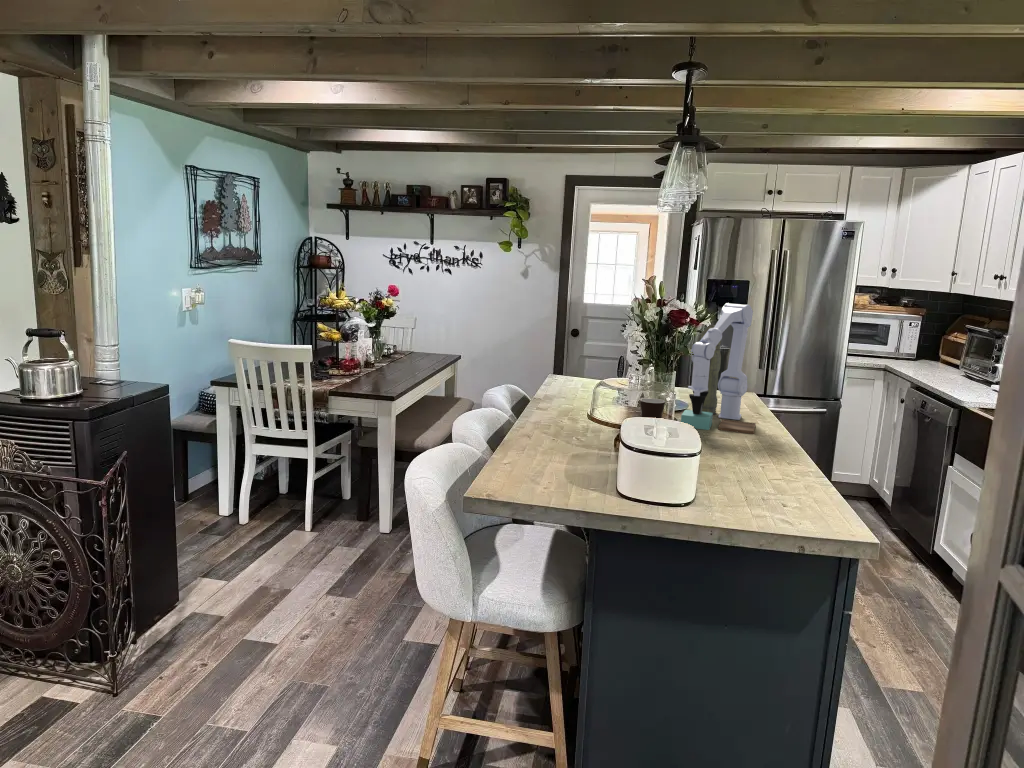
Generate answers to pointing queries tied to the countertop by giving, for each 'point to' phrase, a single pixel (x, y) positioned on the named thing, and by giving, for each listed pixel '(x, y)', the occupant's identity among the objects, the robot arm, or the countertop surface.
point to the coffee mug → (652, 407)
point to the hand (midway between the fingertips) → (697, 412)
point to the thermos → (712, 378)
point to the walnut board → (737, 426)
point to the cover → (697, 419)
